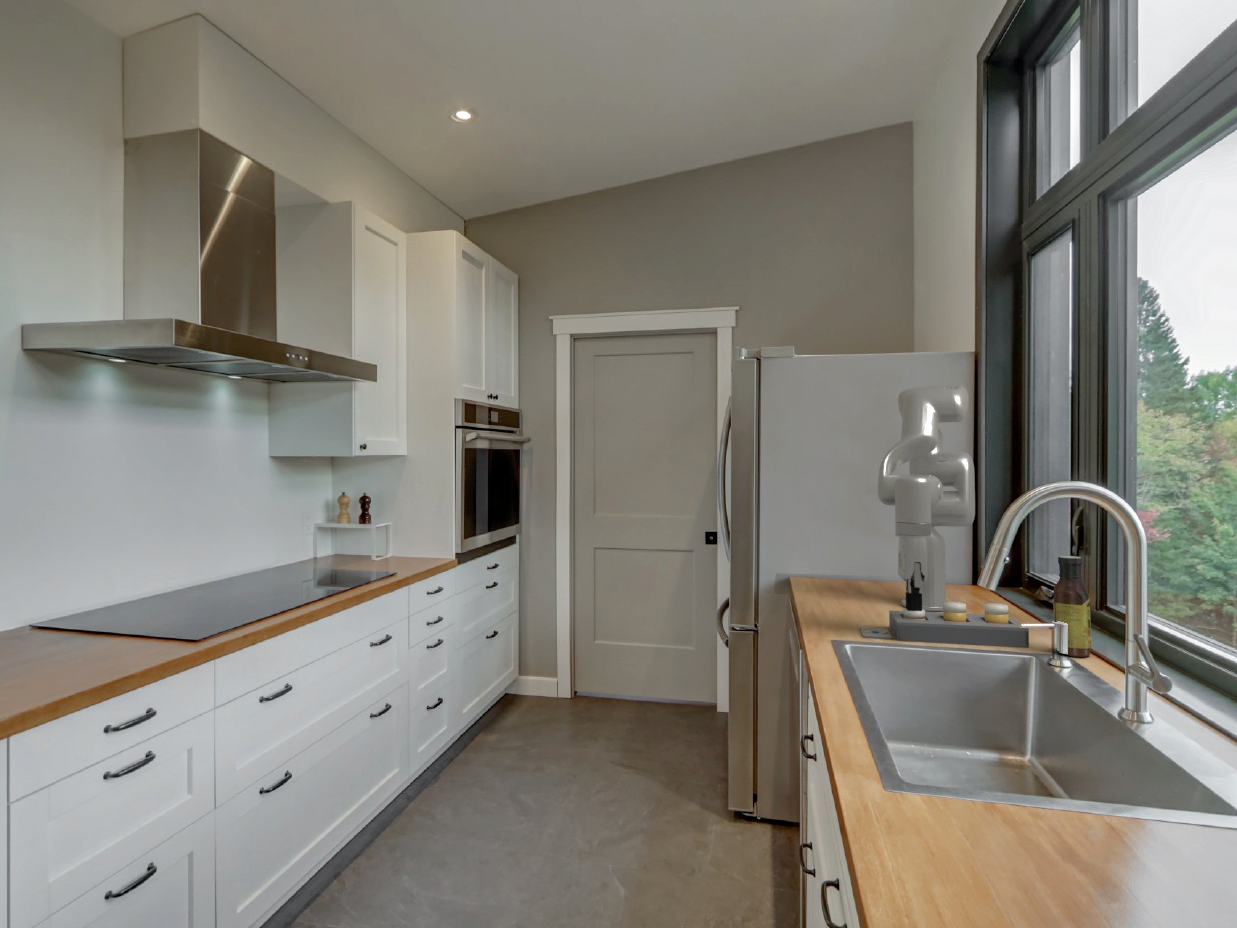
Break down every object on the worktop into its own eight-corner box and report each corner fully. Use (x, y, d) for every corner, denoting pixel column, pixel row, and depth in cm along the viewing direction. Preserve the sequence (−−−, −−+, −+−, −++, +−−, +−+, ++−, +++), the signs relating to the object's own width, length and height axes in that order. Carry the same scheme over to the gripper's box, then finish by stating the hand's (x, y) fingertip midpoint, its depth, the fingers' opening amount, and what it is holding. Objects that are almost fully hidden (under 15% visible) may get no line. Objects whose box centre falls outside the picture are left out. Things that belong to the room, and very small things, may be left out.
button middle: (941, 624, 152) (941, 601, 152) (963, 625, 151) (963, 601, 151) (946, 629, 147) (945, 605, 147) (968, 631, 146) (968, 606, 146)
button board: (889, 627, 158) (889, 610, 158) (1010, 633, 151) (1010, 615, 151) (897, 640, 146) (897, 622, 146) (1028, 647, 140) (1028, 628, 140)
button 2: (982, 626, 150) (982, 602, 150) (1004, 627, 148) (1004, 603, 148) (988, 631, 145) (987, 607, 145) (1011, 633, 144) (1011, 607, 144)
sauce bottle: (1097, 659, 131) (1096, 559, 131) (1062, 657, 133) (1061, 558, 133) (1081, 649, 138) (1080, 554, 138) (1048, 648, 139) (1047, 554, 139)
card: (859, 628, 157) (859, 626, 157) (886, 630, 155) (886, 627, 155) (863, 637, 149) (863, 635, 149) (891, 639, 148) (891, 636, 148)
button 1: (901, 630, 154) (901, 607, 154) (923, 631, 153) (922, 608, 153) (905, 635, 149) (904, 611, 149) (927, 636, 148) (926, 612, 148)
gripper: (890, 526, 159) (891, 602, 159) (900, 533, 145) (901, 616, 145) (924, 527, 157) (925, 604, 157) (938, 533, 143) (938, 618, 143)
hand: (913, 609), depth 151 cm, fingers closed
